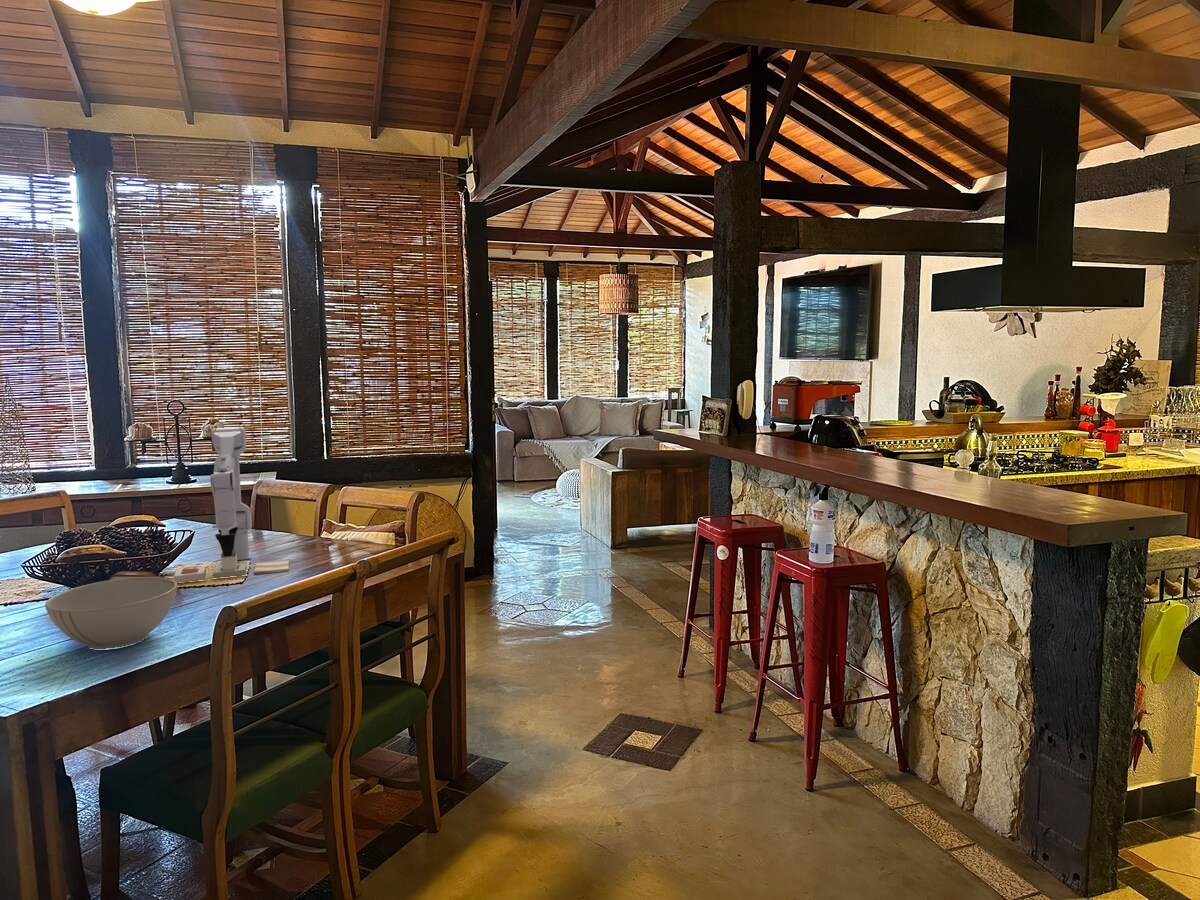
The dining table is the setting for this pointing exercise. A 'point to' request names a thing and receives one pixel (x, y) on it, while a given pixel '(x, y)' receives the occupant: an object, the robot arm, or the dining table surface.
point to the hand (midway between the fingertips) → (228, 553)
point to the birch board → (271, 567)
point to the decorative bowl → (112, 610)
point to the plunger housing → (190, 575)
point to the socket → (230, 571)
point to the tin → (131, 575)
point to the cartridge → (229, 561)
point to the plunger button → (189, 570)
